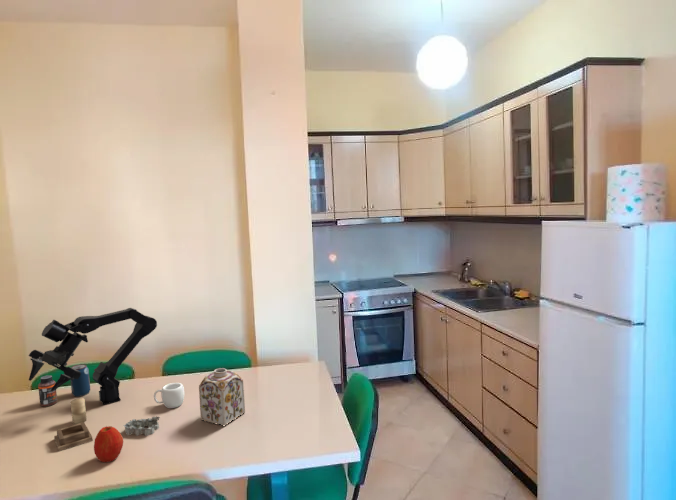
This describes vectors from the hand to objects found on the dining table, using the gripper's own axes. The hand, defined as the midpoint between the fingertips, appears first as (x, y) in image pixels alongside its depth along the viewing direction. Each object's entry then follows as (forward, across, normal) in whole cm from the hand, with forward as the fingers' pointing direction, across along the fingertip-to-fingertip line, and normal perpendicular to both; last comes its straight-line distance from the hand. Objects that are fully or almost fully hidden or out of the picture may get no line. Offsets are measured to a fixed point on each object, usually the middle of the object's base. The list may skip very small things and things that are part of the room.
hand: (40, 386), depth 170 cm
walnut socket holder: (+9, +24, -9) cm, 27 cm away
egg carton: (-3, +43, -7) cm, 44 cm away
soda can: (-1, +4, +28) cm, 28 cm away
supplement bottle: (+7, -2, +21) cm, 22 cm away
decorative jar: (-19, +66, -3) cm, 68 cm away
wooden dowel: (+5, +18, +4) cm, 19 cm away
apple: (+6, +42, -22) cm, 48 cm away
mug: (-13, +43, +10) cm, 46 cm away
